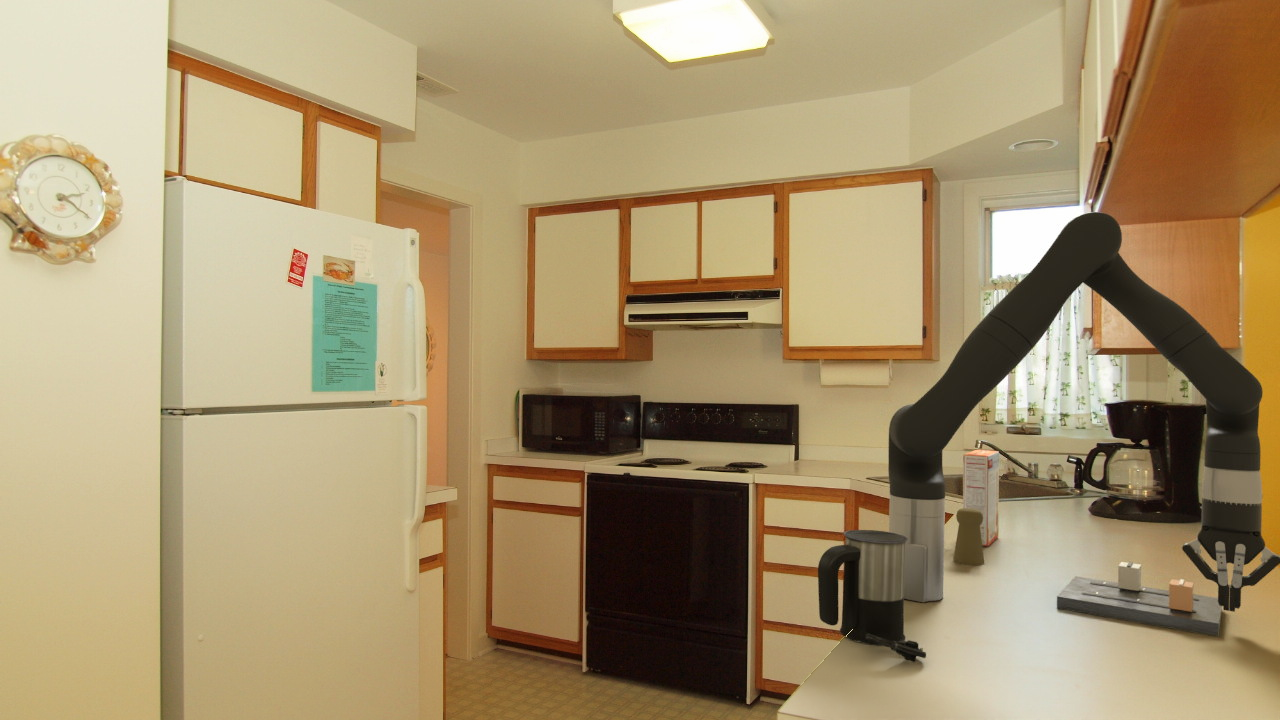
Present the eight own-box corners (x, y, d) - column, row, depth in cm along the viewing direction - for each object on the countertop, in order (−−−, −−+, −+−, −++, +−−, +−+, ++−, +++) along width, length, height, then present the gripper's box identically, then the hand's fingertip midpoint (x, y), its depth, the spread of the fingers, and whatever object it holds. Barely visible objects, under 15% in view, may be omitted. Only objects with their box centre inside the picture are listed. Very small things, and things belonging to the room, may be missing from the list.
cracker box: (972, 534, 199) (974, 449, 199) (999, 537, 196) (1000, 450, 196) (960, 543, 187) (962, 453, 187) (988, 547, 184) (990, 455, 184)
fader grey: (1138, 590, 139) (1138, 567, 139) (1118, 587, 141) (1118, 564, 141) (1140, 586, 142) (1141, 563, 142) (1121, 583, 144) (1121, 560, 144)
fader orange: (1191, 611, 127) (1192, 585, 127) (1169, 608, 129) (1169, 582, 129) (1193, 606, 130) (1193, 581, 130) (1170, 602, 132) (1171, 577, 132)
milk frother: (864, 622, 125) (866, 526, 125) (961, 651, 113) (963, 544, 113) (806, 641, 116) (808, 536, 116) (906, 674, 104) (908, 557, 104)
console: (1218, 636, 122) (1218, 622, 122) (1056, 608, 136) (1057, 595, 136) (1221, 610, 137) (1221, 598, 137) (1075, 587, 150) (1075, 575, 150)
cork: (987, 565, 165) (988, 511, 166) (956, 563, 167) (957, 510, 167) (981, 559, 171) (982, 507, 171) (950, 557, 172) (951, 505, 173)
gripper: (1178, 495, 127) (1176, 606, 127) (1286, 505, 119) (1284, 624, 119) (1181, 490, 133) (1179, 596, 133) (1284, 500, 125) (1283, 613, 125)
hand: (1229, 609), depth 126 cm, fingers closed
